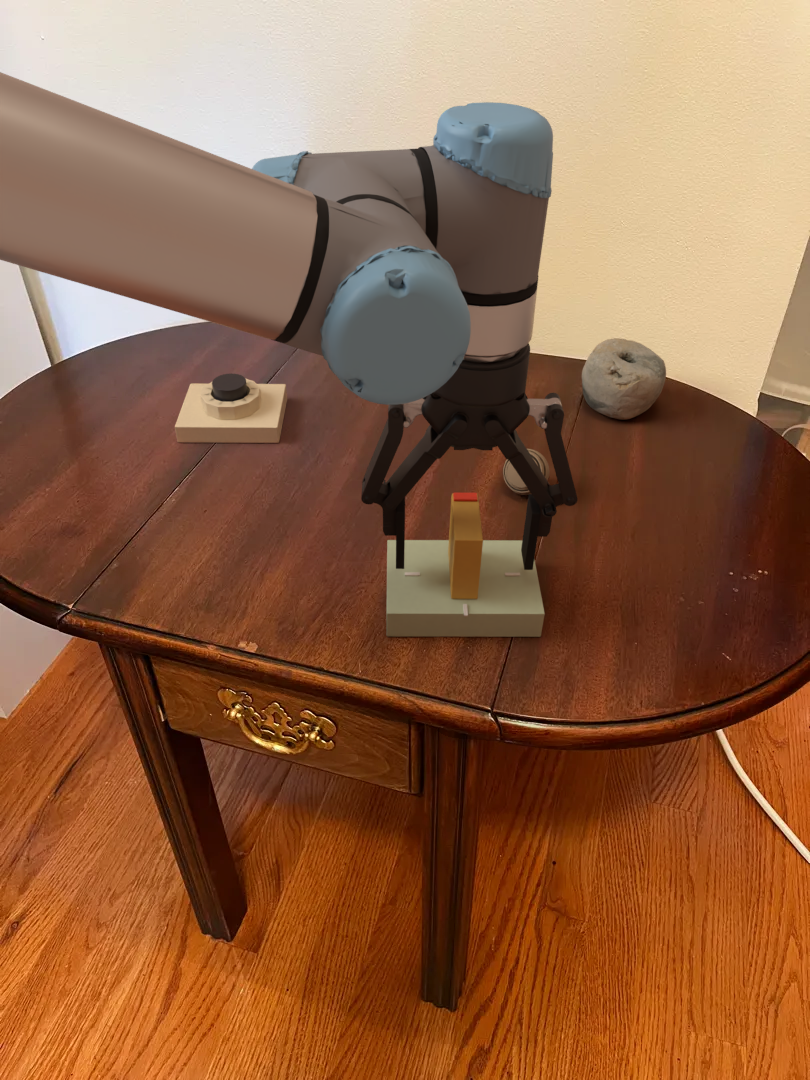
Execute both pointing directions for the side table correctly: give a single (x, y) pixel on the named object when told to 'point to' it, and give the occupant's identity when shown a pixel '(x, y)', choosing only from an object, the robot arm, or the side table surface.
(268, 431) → the doorbell
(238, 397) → the bell button
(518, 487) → the door knob
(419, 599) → the plate
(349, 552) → the side table surface
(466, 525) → the lock knob
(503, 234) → the robot arm
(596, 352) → the stone
